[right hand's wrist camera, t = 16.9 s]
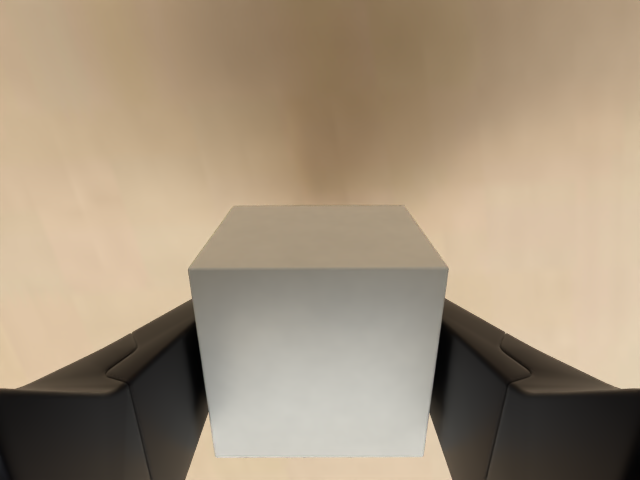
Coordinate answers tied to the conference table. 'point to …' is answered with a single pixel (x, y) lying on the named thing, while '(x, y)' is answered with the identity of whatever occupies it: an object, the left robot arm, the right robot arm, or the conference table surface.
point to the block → (318, 331)
